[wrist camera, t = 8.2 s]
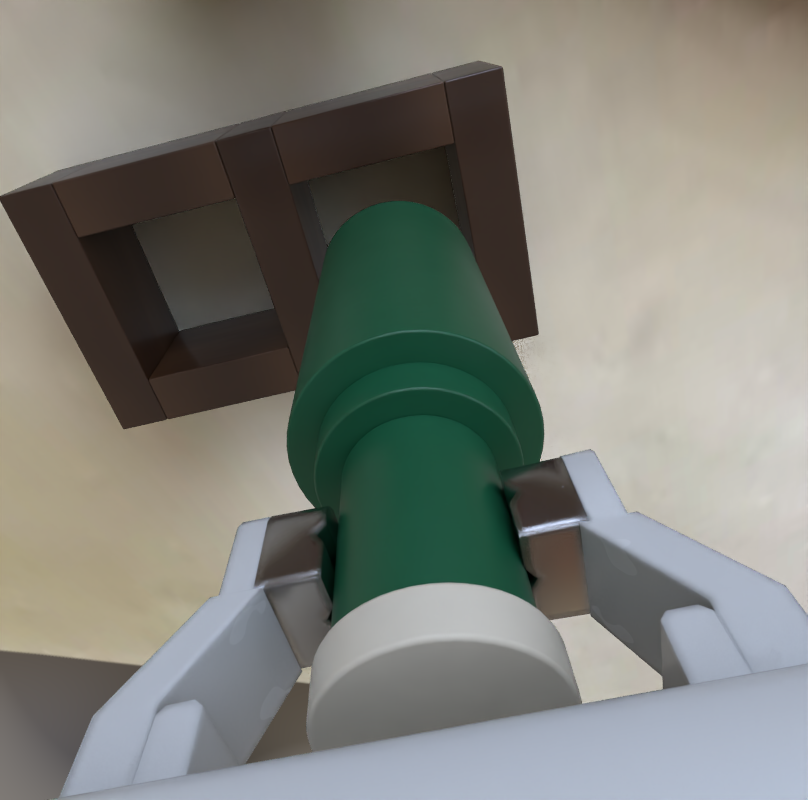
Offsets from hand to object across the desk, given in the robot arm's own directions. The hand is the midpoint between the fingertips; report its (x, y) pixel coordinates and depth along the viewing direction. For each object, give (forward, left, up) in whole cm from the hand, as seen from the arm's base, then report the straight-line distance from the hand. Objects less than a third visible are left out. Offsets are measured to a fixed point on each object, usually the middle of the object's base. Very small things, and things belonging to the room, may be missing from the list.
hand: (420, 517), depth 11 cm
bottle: (0, 0, -12) cm, 12 cm away
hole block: (-4, 0, -20) cm, 21 cm away
